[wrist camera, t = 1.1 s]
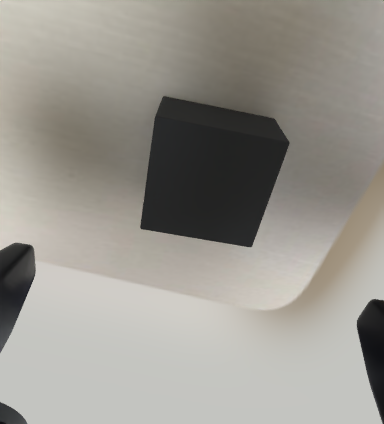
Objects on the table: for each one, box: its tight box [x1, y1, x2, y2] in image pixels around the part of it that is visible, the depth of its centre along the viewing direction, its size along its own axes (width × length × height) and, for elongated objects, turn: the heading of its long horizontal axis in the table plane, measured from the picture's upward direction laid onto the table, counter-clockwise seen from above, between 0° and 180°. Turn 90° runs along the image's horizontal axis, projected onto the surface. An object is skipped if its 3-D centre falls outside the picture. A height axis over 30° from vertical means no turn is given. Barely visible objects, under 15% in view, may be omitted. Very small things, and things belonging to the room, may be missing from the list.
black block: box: [140, 97, 289, 247], centre depth 15 cm, size 5×5×3 cm
